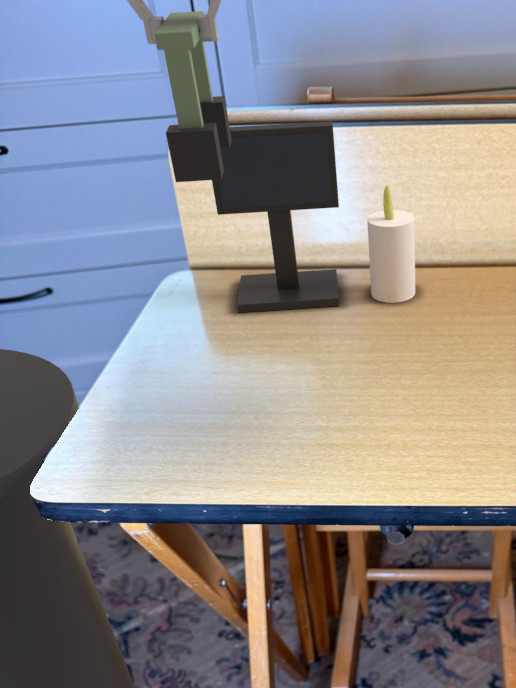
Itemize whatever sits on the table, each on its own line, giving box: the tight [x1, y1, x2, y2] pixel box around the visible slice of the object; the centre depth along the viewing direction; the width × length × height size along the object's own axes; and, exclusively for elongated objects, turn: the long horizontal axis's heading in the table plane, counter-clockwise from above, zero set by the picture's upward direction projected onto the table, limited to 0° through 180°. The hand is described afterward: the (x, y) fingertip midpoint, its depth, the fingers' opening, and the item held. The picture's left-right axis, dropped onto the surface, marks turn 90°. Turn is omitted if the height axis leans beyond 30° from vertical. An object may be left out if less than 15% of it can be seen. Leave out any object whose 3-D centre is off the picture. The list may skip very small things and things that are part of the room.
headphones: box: [154, 10, 232, 183], centre depth 70 cm, size 4×12×11 cm, turn 5°
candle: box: [366, 185, 416, 304], centre depth 108 cm, size 6×6×15 cm
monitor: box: [211, 120, 340, 314], centre depth 106 cm, size 16×10×22 cm, turn 95°
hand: (184, 41), depth 68 cm, fingers closed on headphones, 3 cm apart
